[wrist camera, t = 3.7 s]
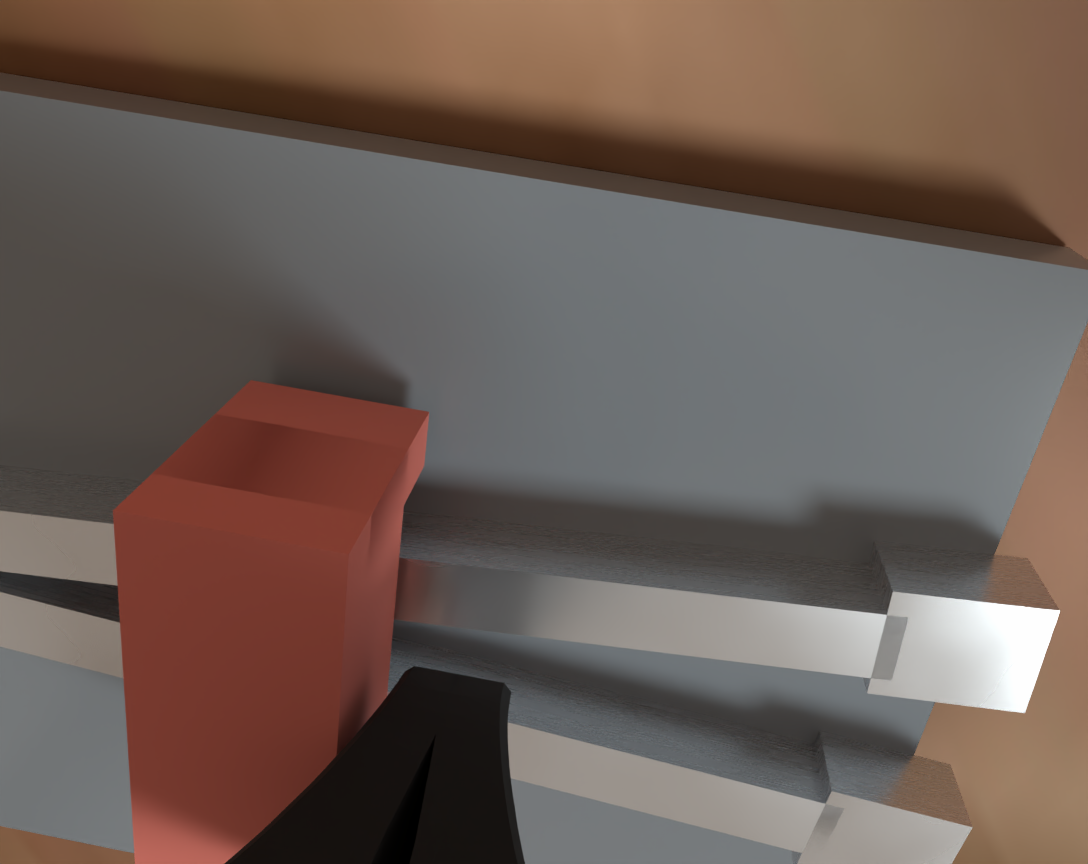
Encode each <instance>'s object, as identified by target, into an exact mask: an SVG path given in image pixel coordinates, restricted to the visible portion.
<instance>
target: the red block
mask: <svg viewBox="0 0 1088 864" xmlns="http://www.w3.org/2000/svg"><path fill="white" fill-rule="evenodd" d="M428 421H429V412H427V411H422V410H416V409H410V408H405V407H399V406H394V405H388V404H382V403H377V402H371V401H365V400H360V399H354V398H349V397H343V396H337V395H332V394H326V393H320V392H315V391H309V390H304V389H298V388H292V387H287V386H281V385H275V384H270V383H264V382H259V381H253V380H251V381H249V382H248V383H247V384H246V385H245V386H244V387H243V388H242V389H241V390H240V391H239V392H238V393H237V394H236V395H235V396H234V397H233V398H231V399H230V400H229V401H228V402H227V403H226V404H225V405H224V406H223V407H222V408H221V409H220V410H219V411H218V412H217V413H216V414H215V415H213V416H212V417H211V418H210V419H209V420H208V421H207V422H206V423H205V424H204V425H203V426H202V427H201V428H200V429H199V430H198V431H197V432H195V433H194V434H193V435H192V436H191V437H190V438H189V439H188V440H187V441H186V442H185V443H184V444H183V445H182V446H181V447H180V448H179V449H177V450H176V451H175V452H174V453H173V454H172V455H171V456H170V457H169V458H168V459H167V460H166V461H165V462H164V463H163V464H162V465H161V466H159V467H158V468H157V469H156V470H155V471H154V472H153V473H152V474H151V475H150V476H149V477H148V478H147V479H146V480H145V481H144V482H143V483H142V484H140V485H139V486H138V487H137V488H136V489H135V490H134V491H133V492H132V493H131V494H130V495H129V496H128V497H127V498H126V499H125V500H124V501H122V502H121V503H120V504H119V505H118V506H117V507H116V508H115V509H114V510H113V521H114V537H115V553H116V569H117V584H118V600H119V616H120V632H121V648H122V664H123V680H124V696H125V712H126V727H127V743H128V759H129V775H130V791H131V807H132V823H133V839H134V855H135V864H224V863H226V862H227V861H228V860H229V859H230V858H231V857H233V856H234V855H235V854H236V853H237V852H238V851H240V850H241V849H242V848H243V847H244V846H245V845H246V844H248V843H249V842H250V841H251V840H252V839H253V838H254V837H255V836H256V835H258V834H259V833H260V832H261V831H262V830H263V829H264V828H265V827H266V826H267V825H268V824H269V823H271V822H272V821H273V820H274V819H275V818H276V817H277V816H278V815H279V814H280V813H281V812H282V811H283V810H284V809H285V808H286V807H287V806H288V805H289V804H290V803H291V802H292V801H293V800H294V799H295V798H296V797H297V796H298V795H299V794H300V793H302V792H303V791H304V790H305V789H306V788H307V787H308V786H309V785H310V784H311V783H312V782H313V781H314V780H315V779H316V777H317V776H318V775H319V774H320V773H321V772H322V771H323V770H324V769H325V768H326V767H327V766H328V765H329V763H330V762H331V761H332V760H333V759H334V758H335V757H336V756H337V755H338V754H339V753H340V751H341V750H342V749H343V748H344V747H345V746H346V745H347V744H348V743H349V742H350V741H351V739H352V738H353V737H354V736H355V735H356V734H357V733H358V731H359V730H360V729H361V728H362V727H363V725H364V724H365V723H366V722H367V721H368V719H369V718H370V717H371V716H372V715H373V713H374V712H375V711H376V710H377V709H378V707H379V706H380V705H381V703H382V702H383V701H384V700H385V698H386V697H387V692H388V681H389V669H390V658H391V646H392V635H393V623H394V612H395V600H396V589H397V577H398V566H399V554H400V543H401V531H402V520H403V509H404V504H405V502H406V500H407V498H408V496H409V494H410V493H411V491H412V489H413V487H414V485H415V483H416V481H417V479H418V477H419V475H420V473H421V471H422V469H423V467H424V463H425V453H426V442H427V432H428Z"/></svg>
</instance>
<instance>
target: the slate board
mask: <svg viewBox="0 0 1088 864" xmlns="http://www.w3.org/2000/svg"><path fill="white" fill-rule="evenodd" d="M1087 322H1088V260H1087V259H1085V258H1084V257H1082V256H1081V255H1079V254H1078V253H1076V252H1075V251H1073V250H1072V249H1070V248H1068V247H1062V246H1056V245H1050V244H1044V243H1037V242H1031V241H1025V240H1019V239H1013V238H1007V237H1001V236H995V235H989V234H983V233H976V232H970V231H964V230H958V229H952V228H946V227H940V226H934V225H928V224H922V223H915V222H909V221H903V220H897V219H891V218H885V217H879V216H873V215H867V214H861V213H854V212H848V211H842V210H836V209H830V208H824V207H818V206H812V205H806V204H800V203H793V202H787V201H781V200H775V199H769V198H763V197H757V196H751V195H745V194H739V193H732V192H726V191H720V190H714V189H708V188H702V187H696V186H690V185H684V184H678V183H671V182H665V181H659V180H653V179H647V178H641V177H635V176H629V175H623V174H617V173H610V172H604V171H598V170H592V169H586V168H580V167H574V166H568V165H562V164H556V163H549V162H543V161H537V160H531V159H525V158H519V157H513V156H507V155H501V154H495V153H488V152H482V151H476V150H470V149H464V148H458V147H452V146H446V145H440V144H434V143H427V142H421V141H415V140H409V139H403V138H397V137H391V136H385V135H379V134H373V133H366V132H360V131H354V130H348V129H342V128H336V127H330V126H324V125H318V124H312V123H305V122H299V121H293V120H287V119H281V118H275V117H269V116H263V115H257V114H251V113H244V112H238V111H232V110H226V109H220V108H214V107H208V106H202V105H196V104H190V103H183V102H177V101H171V100H165V99H159V98H153V97H147V96H141V95H135V94H129V93H122V92H116V91H110V90H104V89H98V88H92V87H86V86H80V85H74V84H68V83H61V82H55V81H49V80H43V79H37V78H31V77H25V76H19V75H13V74H7V73H0V465H7V466H16V467H24V468H33V469H42V470H51V471H60V472H69V473H77V474H86V475H95V476H104V477H113V478H121V479H130V480H139V481H145V480H146V479H147V478H148V477H149V476H150V475H151V474H152V473H153V472H154V471H155V470H156V469H157V468H158V467H159V466H161V465H162V464H163V463H164V462H165V461H166V460H167V459H168V458H169V457H170V456H171V455H172V454H173V453H174V452H175V451H176V450H177V449H179V448H180V447H181V446H182V445H183V444H184V443H185V442H186V441H187V440H188V439H189V438H190V437H191V436H192V435H193V434H194V433H195V432H197V431H198V430H199V429H200V428H201V427H202V426H203V425H204V424H205V423H206V422H207V421H208V420H209V419H210V418H211V417H212V416H213V415H215V414H216V413H217V412H218V411H219V410H220V409H221V408H222V407H223V406H224V405H225V404H226V403H227V402H228V401H229V400H230V399H231V398H233V397H234V396H235V395H236V394H237V393H238V392H239V391H240V390H241V389H242V388H243V387H244V386H245V385H246V384H247V383H248V382H249V381H251V380H253V381H259V382H264V383H270V384H275V385H281V386H287V387H292V388H298V389H304V390H309V391H315V392H320V393H326V394H332V395H337V396H343V397H349V398H354V399H360V400H365V401H371V402H377V403H382V404H388V405H394V406H399V407H405V408H410V409H416V410H422V411H427V412H429V421H428V432H427V442H426V453H425V463H424V467H423V469H422V471H421V473H420V475H419V477H418V479H417V481H416V483H415V485H414V487H413V489H412V491H411V493H410V494H409V496H408V498H407V500H406V502H405V504H404V509H403V510H404V511H412V512H421V513H430V514H439V515H448V516H456V517H465V518H474V519H483V520H492V521H501V522H509V523H518V524H527V525H536V526H545V527H553V528H562V529H571V530H580V531H589V532H598V533H606V534H615V535H624V536H633V537H642V538H650V539H659V540H668V541H677V542H686V543H695V544H703V545H712V546H721V547H730V548H739V549H747V550H756V551H765V552H774V553H783V554H791V555H800V556H809V557H818V558H827V559H836V560H844V561H853V562H862V563H870V559H871V555H872V551H873V547H874V543H875V541H877V542H886V543H895V544H904V545H913V546H922V547H930V548H939V549H948V550H957V551H966V552H975V553H984V554H993V555H994V554H995V551H996V549H997V546H998V544H999V541H1000V539H1001V536H1002V534H1003V531H1004V529H1005V526H1006V524H1007V521H1008V519H1009V516H1010V514H1011V511H1012V509H1013V506H1014V504H1015V501H1016V499H1017V496H1018V494H1019V491H1020V489H1021V487H1022V484H1023V482H1024V479H1025V477H1026V474H1027V472H1028V469H1029V467H1030V464H1031V462H1032V459H1033V457H1034V454H1035V452H1036V449H1037V447H1038V444H1039V442H1040V439H1041V437H1042V434H1043V432H1044V429H1045V427H1046V424H1047V422H1048V419H1049V417H1050V414H1051V412H1052V409H1053V407H1054V404H1055V402H1056V399H1057V397H1058V394H1059V392H1060V389H1061V387H1062V384H1063V382H1064V379H1065V377H1066V374H1067V372H1068V369H1069V367H1070V365H1071V362H1072V360H1073V357H1074V355H1075V352H1076V350H1077V347H1078V345H1079V342H1080V340H1081V337H1082V335H1083V332H1084V330H1085V327H1086V325H1087ZM393 636H397V637H401V638H405V639H408V640H412V641H416V642H420V643H424V644H428V645H432V646H436V647H440V648H444V649H448V650H451V651H455V652H459V653H463V654H467V655H471V656H475V657H479V658H483V659H487V660H490V661H494V662H498V663H502V664H506V665H510V666H514V667H518V668H522V669H526V670H530V671H533V672H537V673H541V674H545V675H549V676H553V677H557V678H561V679H565V680H569V681H573V682H576V683H580V684H584V685H588V686H592V687H596V688H600V689H604V690H608V691H612V692H616V693H619V694H623V695H627V696H631V697H635V698H639V699H643V700H647V701H651V702H655V703H659V704H662V705H666V706H670V707H674V708H678V709H682V710H686V711H690V712H694V713H698V714H702V715H705V716H709V717H713V718H717V719H721V720H725V721H729V722H733V723H737V724H741V725H745V726H748V727H752V728H756V729H760V730H764V731H768V732H772V733H776V734H780V735H784V736H787V737H791V738H795V739H799V740H803V741H807V742H811V743H815V741H816V739H817V736H818V734H819V732H820V731H821V732H825V733H829V734H833V735H837V736H841V737H845V738H849V739H852V740H856V741H860V742H864V743H868V744H872V745H876V746H880V747H884V748H888V749H892V750H895V751H899V752H903V753H907V754H911V755H914V753H915V750H916V748H917V745H918V743H919V740H920V738H921V735H922V733H923V730H924V728H925V726H926V723H927V721H928V718H929V716H930V713H931V711H932V708H933V706H934V703H935V702H932V701H924V700H916V699H908V698H900V697H892V696H884V695H876V694H868V693H867V692H866V688H865V684H864V681H863V677H856V676H848V675H840V674H832V673H823V672H815V671H807V670H799V669H791V668H783V667H775V666H767V665H758V664H750V663H742V662H734V661H726V660H718V659H710V658H702V657H693V656H685V655H677V654H669V653H661V652H653V651H645V650H637V649H628V648H620V647H612V646H604V645H596V644H588V643H580V642H571V641H563V640H555V639H547V638H539V637H531V636H523V635H515V634H506V633H498V632H490V631H482V630H474V629H466V628H458V627H450V626H441V625H433V624H425V623H417V622H409V621H401V620H394V623H393ZM511 785H512V792H513V799H514V805H515V812H516V819H517V825H518V831H519V836H520V841H521V847H522V852H523V856H524V861H525V864H793V858H792V851H791V850H788V849H784V848H780V847H776V846H772V845H768V844H764V843H761V842H757V841H753V840H749V839H745V838H741V837H737V836H733V835H729V834H726V833H722V832H718V831H714V830H710V829H706V828H702V827H698V826H695V825H691V824H687V823H683V822H679V821H675V820H671V819H667V818H664V817H660V816H656V815H652V814H648V813H644V812H640V811H636V810H632V809H629V808H625V807H621V806H617V805H613V804H609V803H605V802H601V801H598V800H594V799H590V798H586V797H582V796H578V795H574V794H570V793H567V792H563V791H559V790H555V789H551V788H547V787H543V786H539V785H535V784H532V783H528V782H524V781H520V780H516V779H512V778H511ZM0 826H4V827H8V828H13V829H18V830H23V831H28V832H33V833H38V834H43V835H48V836H53V837H58V838H62V839H67V840H72V841H77V842H82V843H87V844H92V845H97V846H102V847H107V848H111V849H116V850H121V851H126V852H131V853H134V839H133V823H132V807H131V791H130V775H129V759H128V743H127V727H126V712H125V696H124V680H123V678H120V677H116V676H113V675H109V674H105V673H101V672H97V671H93V670H89V669H85V668H81V667H78V666H74V665H70V664H66V663H62V662H58V661H54V660H50V659H47V658H43V657H39V656H35V655H31V654H27V653H23V652H19V651H16V650H12V649H8V648H4V647H0Z"/></svg>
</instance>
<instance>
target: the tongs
mask: <svg viewBox="0 0 1088 864" xmlns="http://www.w3.org/2000/svg"><path fill="white" fill-rule="evenodd" d="M143 482H144V481H139V480H130V479H121V478H113V477H104V476H95V475H86V474H77V473H69V472H60V471H51V470H42V469H33V468H24V467H16V466H7V465H0V647H4V648H8V649H12V650H16V651H19V652H23V653H27V654H31V655H35V656H39V657H43V658H47V659H50V660H54V661H58V662H62V663H66V664H70V665H74V666H78V667H81V668H85V669H89V670H93V671H97V672H101V673H105V674H109V675H113V676H116V677H120V678H123V664H122V648H121V632H120V616H119V600H118V584H117V569H116V553H115V537H114V521H113V510H114V509H115V508H116V507H117V506H118V505H119V504H120V503H121V502H122V501H124V500H125V499H126V498H127V497H128V496H129V495H130V494H131V493H132V492H133V491H134V490H135V489H136V488H137V487H138V486H139V485H140V484H142V483H143ZM1059 613H1060V610H1059V608H1058V607H1057V605H1056V603H1055V602H1054V600H1053V599H1052V597H1051V595H1050V594H1049V592H1048V590H1047V589H1046V587H1045V586H1044V584H1043V582H1042V581H1041V579H1040V577H1039V576H1038V574H1037V573H1036V571H1035V569H1034V568H1033V566H1032V564H1031V563H1030V561H1029V560H1028V558H1020V557H1011V556H1002V555H993V554H984V553H975V552H966V551H957V550H948V549H939V548H930V547H922V546H913V545H904V544H895V543H886V542H877V541H875V543H874V547H873V551H872V555H871V559H870V563H862V562H853V561H844V560H836V559H827V558H818V557H809V556H800V555H791V554H783V553H774V552H765V551H756V550H747V549H739V548H730V547H721V546H712V545H703V544H695V543H686V542H677V541H668V540H659V539H650V538H642V537H633V536H624V535H615V534H606V533H598V532H589V531H580V530H571V529H562V528H553V527H545V526H536V525H527V524H518V523H509V522H501V521H492V520H483V519H474V518H465V517H456V516H448V515H439V514H430V513H421V512H412V511H404V510H403V520H402V531H401V543H400V554H399V566H398V577H397V589H396V600H395V612H394V620H401V621H409V622H417V623H425V624H433V625H441V626H450V627H458V628H466V629H474V630H482V631H490V632H498V633H506V634H515V635H523V636H531V637H539V638H547V639H555V640H563V641H571V642H580V643H588V644H596V645H604V646H612V647H620V648H628V649H637V650H645V651H653V652H661V653H669V654H677V655H685V656H693V657H702V658H710V659H718V660H726V661H734V662H742V663H750V664H758V665H767V666H775V667H783V668H791V669H799V670H807V671H815V672H823V673H832V674H840V675H848V676H856V677H863V681H864V684H865V688H866V692H867V693H868V694H876V695H884V696H892V697H900V698H908V699H916V700H924V701H932V702H940V703H948V704H956V705H964V706H973V707H981V708H989V709H997V710H1005V711H1013V712H1021V713H1025V711H1026V708H1027V705H1028V702H1029V699H1030V696H1031V693H1032V691H1033V688H1034V685H1035V682H1036V679H1037V676H1038V673H1039V670H1040V667H1041V665H1042V662H1043V659H1044V656H1045V653H1046V650H1047V647H1048V644H1049V641H1050V639H1051V636H1052V633H1053V630H1054V627H1055V624H1056V621H1057V618H1058V615H1059ZM413 666H418V667H423V668H428V669H434V670H439V671H444V672H449V673H455V674H460V675H465V676H471V677H476V678H481V679H487V680H492V681H497V682H502V683H505V685H506V686H507V687H508V688H509V690H510V691H511V698H510V704H509V711H508V752H509V767H510V776H511V778H512V779H516V780H520V781H524V782H528V783H532V784H535V785H539V786H543V787H547V788H551V789H555V790H559V791H563V792H567V793H570V794H574V795H578V796H582V797H586V798H590V799H594V800H598V801H601V802H605V803H609V804H613V805H617V806H621V807H625V808H629V809H632V810H636V811H640V812H644V813H648V814H652V815H656V816H660V817H664V818H667V819H671V820H675V821H679V822H683V823H687V824H691V825H695V826H698V827H702V828H706V829H710V830H714V831H718V832H722V833H726V834H729V835H733V836H737V837H741V838H745V839H749V840H753V841H757V842H761V843H764V844H768V845H772V846H776V847H780V848H784V849H788V850H791V851H792V858H793V864H952V862H953V860H954V859H955V857H956V855H957V853H958V852H959V850H960V848H961V847H962V845H963V843H964V841H965V840H966V838H967V836H968V834H969V833H970V831H971V829H972V828H973V827H972V824H971V822H970V819H969V816H968V813H967V810H966V808H965V805H964V802H963V799H962V796H961V793H960V791H959V788H958V785H957V782H956V779H955V776H954V774H953V771H952V768H951V765H950V764H946V763H942V762H938V761H935V760H931V759H927V758H923V757H919V756H915V755H911V754H907V753H903V752H899V751H895V750H892V749H888V748H884V747H880V746H876V745H872V744H868V743H864V742H860V741H856V740H852V739H849V738H845V737H841V736H837V735H833V734H829V733H825V732H821V731H820V732H819V734H818V736H817V739H816V741H815V743H811V742H807V741H803V740H799V739H795V738H791V737H787V736H784V735H780V734H776V733H772V732H768V731H764V730H760V729H756V728H752V727H748V726H745V725H741V724H737V723H733V722H729V721H725V720H721V719H717V718H713V717H709V716H705V715H702V714H698V713H694V712H690V711H686V710H682V709H678V708H674V707H670V706H666V705H662V704H659V703H655V702H651V701H647V700H643V699H639V698H635V697H631V696H627V695H623V694H619V693H616V692H612V691H608V690H604V689H600V688H596V687H592V686H588V685H584V684H580V683H576V682H573V681H569V680H565V679H561V678H557V677H553V676H549V675H545V674H541V673H537V672H533V671H530V670H526V669H522V668H518V667H514V666H510V665H506V664H502V663H498V662H494V661H490V660H487V659H483V658H479V657H475V656H471V655H467V654H463V653H459V652H455V651H451V650H448V649H444V648H440V647H436V646H432V645H428V644H424V643H420V642H416V641H412V640H408V639H405V638H401V637H397V636H393V635H392V646H391V658H390V669H389V681H388V692H387V696H388V694H389V693H390V692H391V690H392V689H393V688H394V686H395V685H396V684H397V682H398V681H399V679H400V678H401V676H402V675H403V673H404V672H405V671H406V670H408V669H410V668H412V667H413Z"/></svg>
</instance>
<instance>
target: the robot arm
mask: <svg viewBox="0 0 1088 864" xmlns="http://www.w3.org/2000/svg"><path fill="white" fill-rule="evenodd" d="M510 698H511V691H510V690H509V688H508V687H507V686H506V685H505V683H502V682H497V681H492V680H487V679H481V678H476V677H471V676H465V675H460V674H455V673H449V672H444V671H439V670H434V669H428V668H423V667H418V666H413V667H412V668H410V669H408V670H406V671H405V672H404V673H403V675H402V676H401V678H400V679H399V681H398V682H397V684H396V685H395V686H394V688H393V689H392V690H391V692H390V693H389V694H388V696H387V697H386V698H385V700H384V701H383V702H382V703H381V705H380V706H379V707H378V709H377V710H376V711H375V712H374V713H373V715H372V716H371V717H370V718H369V719H368V721H367V722H366V723H365V724H364V725H363V727H362V728H361V729H360V730H359V731H358V733H357V734H356V735H355V736H354V737H353V738H352V739H351V741H350V742H349V743H348V744H347V745H346V746H345V747H344V748H343V749H342V750H341V751H340V753H339V754H338V755H337V756H336V757H335V758H334V759H333V760H332V761H331V762H330V763H329V765H328V766H327V767H326V768H325V769H324V770H323V771H322V772H321V773H320V774H319V775H318V776H317V777H316V779H315V780H314V781H313V782H312V783H311V784H310V785H309V786H308V787H307V788H306V789H305V790H304V791H303V792H302V793H300V794H299V795H298V796H297V797H296V798H295V799H294V800H293V801H292V802H291V803H290V804H289V805H288V806H287V807H286V808H285V809H284V810H283V811H282V812H281V813H280V814H279V815H278V816H277V817H276V818H275V819H274V820H273V821H272V822H271V823H269V824H268V825H267V826H266V827H265V828H264V829H263V830H262V831H261V832H260V833H259V834H258V835H256V836H255V837H254V838H253V839H252V840H251V841H250V842H249V843H248V844H246V845H245V846H244V847H243V848H242V849H241V850H240V851H238V852H237V853H236V854H235V855H234V856H233V857H231V858H230V859H229V860H228V861H227V862H226V863H224V864H525V861H524V856H523V852H522V847H521V841H520V836H519V831H518V825H517V819H516V812H515V805H514V799H513V792H512V785H511V776H510V767H509V752H508V711H509V704H510Z"/></svg>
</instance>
